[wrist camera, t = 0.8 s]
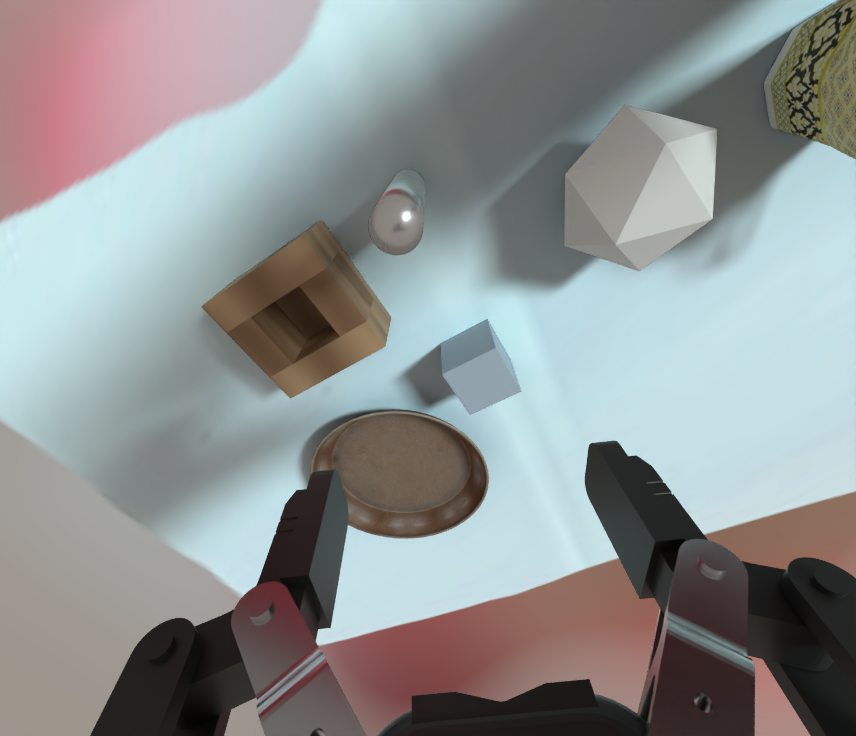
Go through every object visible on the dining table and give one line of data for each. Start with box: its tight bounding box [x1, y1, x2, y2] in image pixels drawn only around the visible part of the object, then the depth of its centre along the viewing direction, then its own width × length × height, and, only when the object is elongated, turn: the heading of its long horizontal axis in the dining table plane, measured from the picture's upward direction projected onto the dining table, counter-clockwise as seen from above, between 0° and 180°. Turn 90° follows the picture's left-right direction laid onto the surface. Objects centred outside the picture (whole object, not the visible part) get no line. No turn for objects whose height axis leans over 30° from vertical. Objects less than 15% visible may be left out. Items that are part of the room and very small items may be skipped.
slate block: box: [441, 319, 521, 415], centre depth 32 cm, size 4×4×5 cm
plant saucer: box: [311, 410, 489, 538], centre depth 41 cm, size 18×18×3 cm
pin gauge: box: [368, 169, 426, 255], centre depth 23 cm, size 2×2×12 cm
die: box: [564, 105, 717, 271], centre depth 24 cm, size 8×9×10 cm
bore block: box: [202, 220, 391, 398], centre depth 30 cm, size 9×9×5 cm
